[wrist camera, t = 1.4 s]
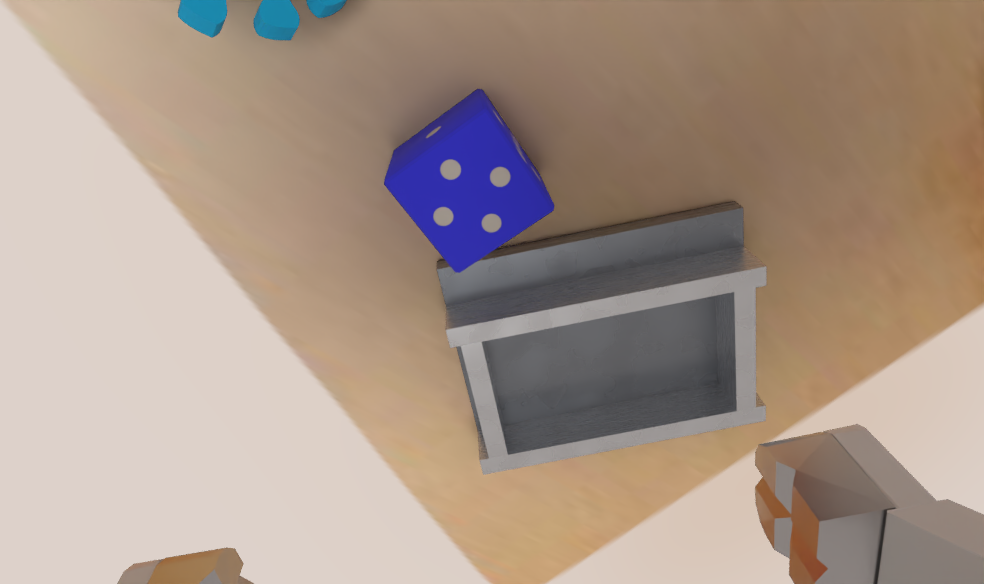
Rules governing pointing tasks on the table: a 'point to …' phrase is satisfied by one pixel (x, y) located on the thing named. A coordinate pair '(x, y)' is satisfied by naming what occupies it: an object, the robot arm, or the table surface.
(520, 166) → the die
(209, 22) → the gear
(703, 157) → the table surface
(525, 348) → the open chest
